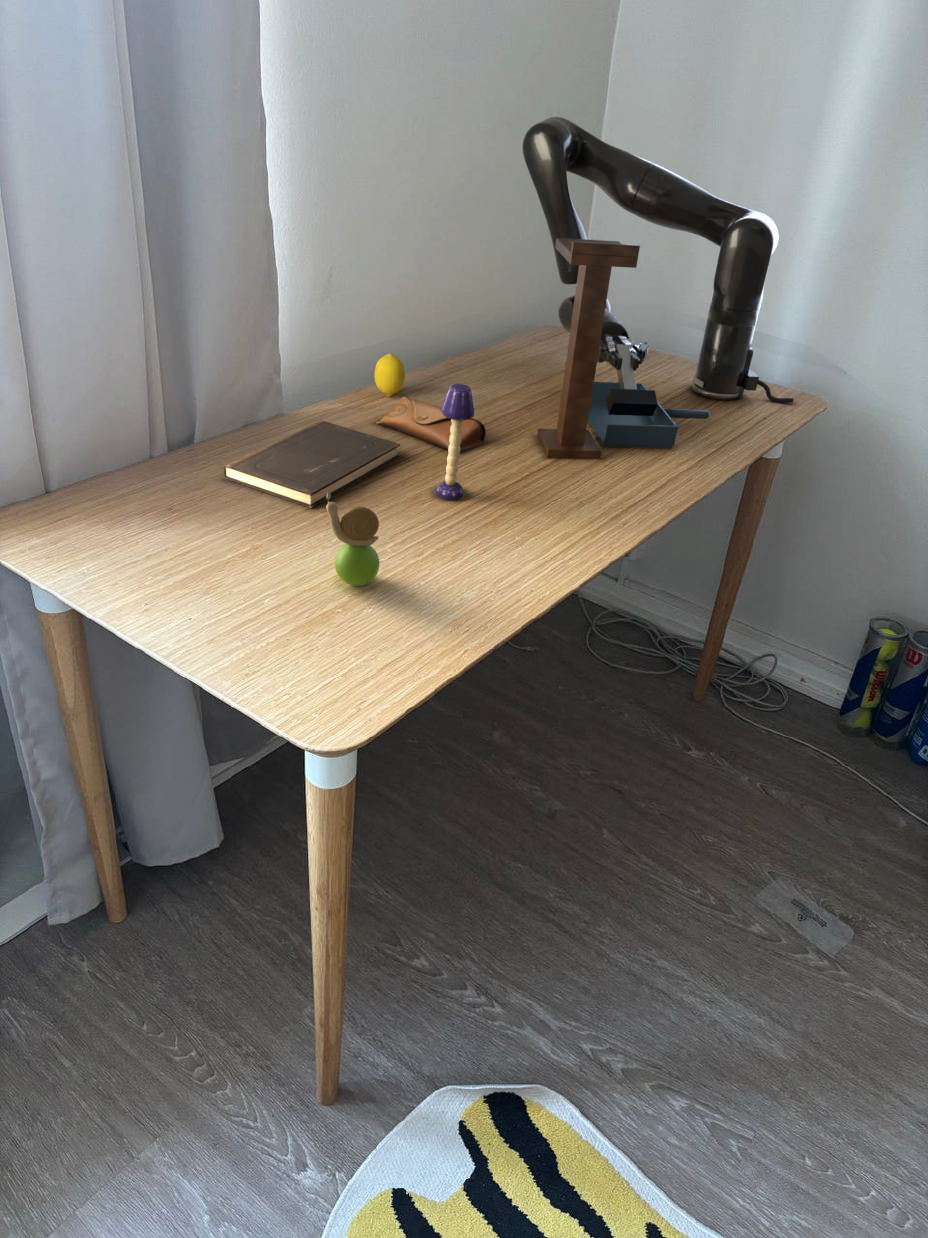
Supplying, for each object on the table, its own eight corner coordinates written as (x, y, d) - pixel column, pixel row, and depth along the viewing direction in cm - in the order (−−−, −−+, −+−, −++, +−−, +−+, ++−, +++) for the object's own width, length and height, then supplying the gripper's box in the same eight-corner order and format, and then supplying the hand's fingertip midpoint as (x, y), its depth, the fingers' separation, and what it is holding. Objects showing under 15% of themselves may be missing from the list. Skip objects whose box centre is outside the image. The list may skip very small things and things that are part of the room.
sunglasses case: (371, 422, 158) (385, 384, 157) (393, 432, 164) (407, 396, 163) (456, 452, 149) (471, 413, 149) (476, 462, 156) (490, 425, 155)
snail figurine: (327, 570, 117) (326, 483, 110) (378, 571, 117) (381, 485, 111) (325, 593, 112) (325, 504, 105) (379, 594, 113) (381, 505, 106)
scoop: (604, 446, 158) (607, 424, 156) (575, 400, 176) (578, 380, 174) (727, 449, 161) (732, 428, 159) (687, 404, 179) (691, 384, 177)
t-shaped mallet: (598, 351, 168) (602, 339, 165) (640, 353, 169) (646, 341, 166) (608, 414, 161) (613, 402, 159) (652, 416, 163) (658, 404, 160)
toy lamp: (471, 492, 139) (480, 384, 130) (461, 504, 135) (470, 394, 126) (441, 485, 140) (448, 378, 131) (430, 498, 136) (437, 388, 127)
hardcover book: (399, 457, 148) (400, 443, 146) (311, 508, 130) (311, 493, 129) (318, 432, 154) (318, 419, 152) (223, 478, 136) (222, 464, 135)
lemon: (406, 392, 172) (407, 350, 168) (401, 403, 168) (403, 359, 163) (376, 389, 173) (377, 347, 168) (371, 400, 168) (372, 356, 164)
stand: (588, 434, 162) (620, 230, 144) (603, 460, 153) (640, 245, 134) (532, 433, 160) (557, 226, 142) (544, 459, 151) (573, 241, 133)
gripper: (571, 313, 175) (593, 341, 161) (642, 316, 177) (669, 345, 163) (565, 352, 179) (586, 383, 165) (634, 355, 181) (661, 386, 167)
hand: (627, 364), depth 164 cm, fingers closed on t-shaped mallet, 2 cm apart
